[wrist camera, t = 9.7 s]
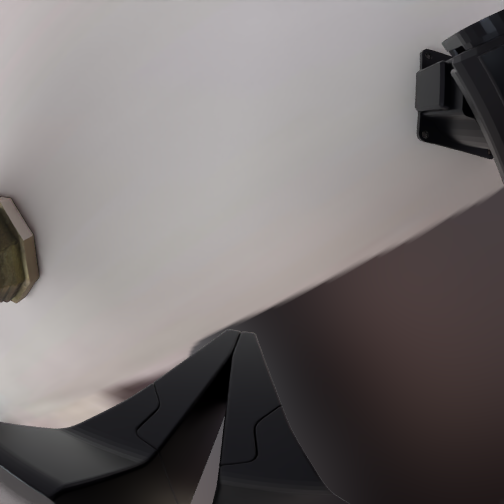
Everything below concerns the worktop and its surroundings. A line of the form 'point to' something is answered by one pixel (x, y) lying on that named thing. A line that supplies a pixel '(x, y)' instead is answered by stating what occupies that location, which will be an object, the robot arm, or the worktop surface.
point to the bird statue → (15, 254)
